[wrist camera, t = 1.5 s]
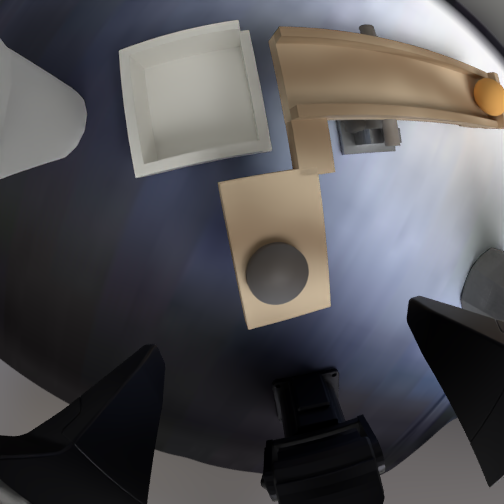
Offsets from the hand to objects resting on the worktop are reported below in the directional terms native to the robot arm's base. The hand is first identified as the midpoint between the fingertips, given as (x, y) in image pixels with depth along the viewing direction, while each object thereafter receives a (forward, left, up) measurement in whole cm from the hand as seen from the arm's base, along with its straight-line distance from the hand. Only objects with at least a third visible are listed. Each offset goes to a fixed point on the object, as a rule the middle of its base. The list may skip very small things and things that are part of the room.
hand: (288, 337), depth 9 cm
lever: (+5, -10, -10) cm, 15 cm away
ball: (+10, -20, -8) cm, 23 cm away
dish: (+11, +3, -13) cm, 17 cm away
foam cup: (+13, +15, -13) cm, 24 cm away
